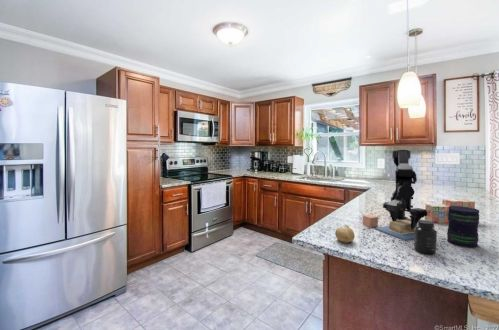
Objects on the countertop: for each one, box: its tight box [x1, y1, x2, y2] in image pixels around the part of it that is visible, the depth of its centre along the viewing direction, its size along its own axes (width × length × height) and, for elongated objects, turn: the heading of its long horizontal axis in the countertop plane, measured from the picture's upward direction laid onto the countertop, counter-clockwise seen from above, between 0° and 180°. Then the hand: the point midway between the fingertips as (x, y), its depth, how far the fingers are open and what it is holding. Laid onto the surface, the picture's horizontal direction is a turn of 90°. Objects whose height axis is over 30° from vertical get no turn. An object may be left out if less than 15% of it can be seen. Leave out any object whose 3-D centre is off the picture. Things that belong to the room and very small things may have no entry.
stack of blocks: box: [424, 198, 476, 224], centre depth 129 cm, size 21×6×12 cm, turn 85°
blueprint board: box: [374, 225, 415, 241], centre depth 113 cm, size 18×16×1 cm
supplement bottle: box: [413, 219, 438, 256], centre depth 91 cm, size 7×7×12 cm
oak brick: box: [388, 219, 418, 234], centre depth 113 cm, size 10×6×4 cm, turn 105°
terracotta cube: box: [362, 214, 379, 228], centre depth 124 cm, size 5×5×5 cm
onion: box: [334, 224, 356, 244], centre depth 102 cm, size 8×8×7 cm
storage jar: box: [446, 206, 480, 249], centre depth 99 cm, size 10×10×15 cm
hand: (403, 226), depth 113 cm, fingers open, 9 cm apart
